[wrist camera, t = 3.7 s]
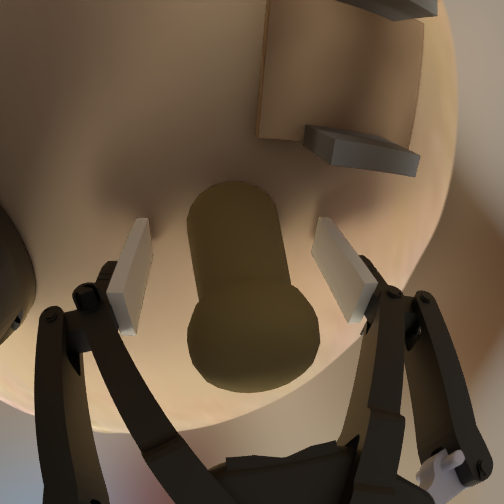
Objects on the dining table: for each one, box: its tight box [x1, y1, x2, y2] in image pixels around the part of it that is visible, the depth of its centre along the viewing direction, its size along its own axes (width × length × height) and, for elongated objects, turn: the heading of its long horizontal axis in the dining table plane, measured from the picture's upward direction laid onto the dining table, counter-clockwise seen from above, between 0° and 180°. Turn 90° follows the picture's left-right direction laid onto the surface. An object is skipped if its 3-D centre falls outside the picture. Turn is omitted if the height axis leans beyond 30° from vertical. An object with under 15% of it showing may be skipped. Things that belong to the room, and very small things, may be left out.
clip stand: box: [255, 0, 437, 177], centre depth 11 cm, size 10×10×5 cm
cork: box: [187, 182, 320, 393], centre depth 14 cm, size 6×6×11 cm
